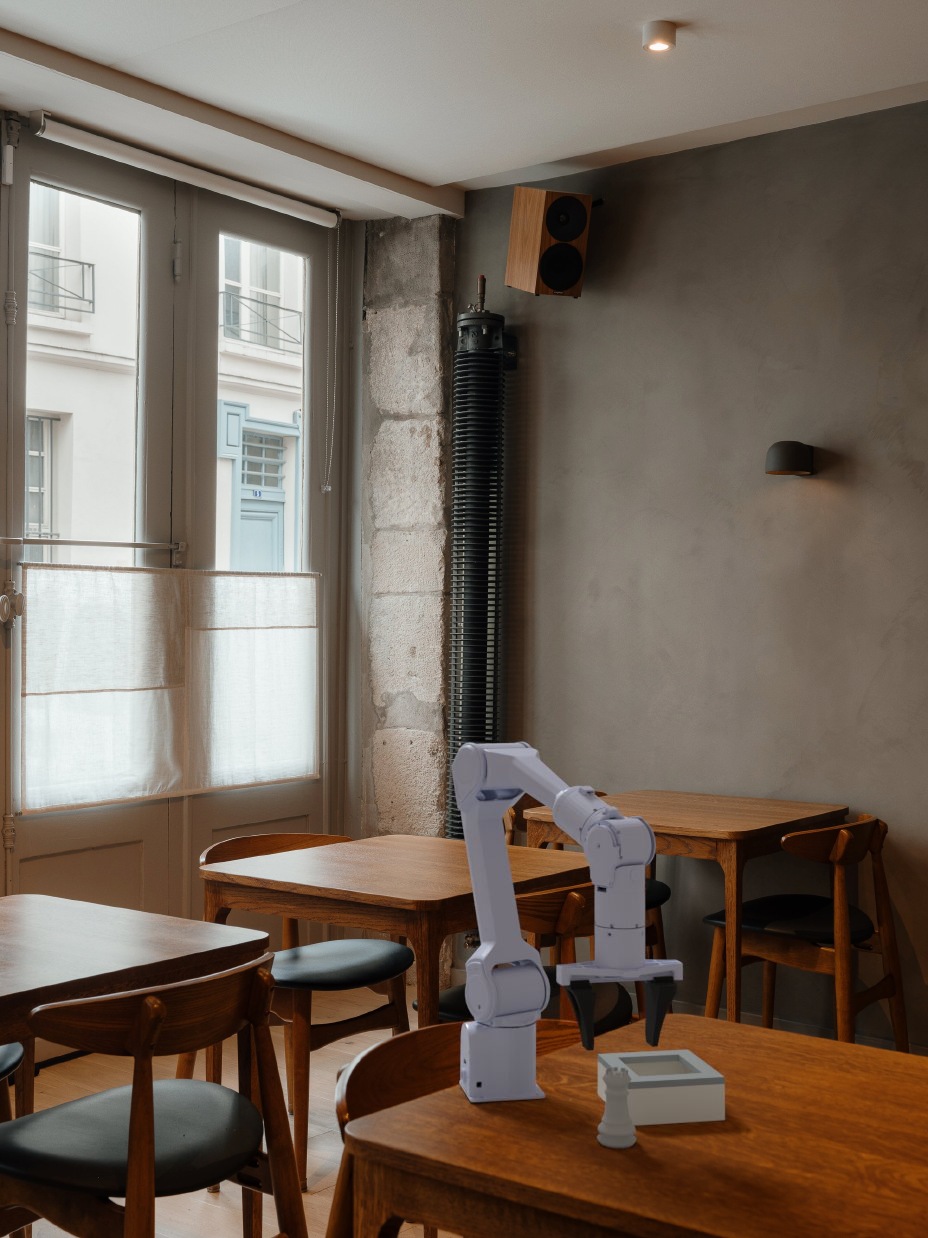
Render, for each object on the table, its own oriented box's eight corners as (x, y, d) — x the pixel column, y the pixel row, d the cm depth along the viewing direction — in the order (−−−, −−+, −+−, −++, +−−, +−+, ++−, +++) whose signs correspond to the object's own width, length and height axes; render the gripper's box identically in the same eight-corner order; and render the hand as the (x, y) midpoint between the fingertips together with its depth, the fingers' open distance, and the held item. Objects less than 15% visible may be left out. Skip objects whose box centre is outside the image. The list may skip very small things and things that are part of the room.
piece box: (628, 1126, 148) (628, 1082, 148) (597, 1094, 160) (597, 1054, 160) (724, 1120, 150) (724, 1077, 150) (687, 1089, 162) (687, 1049, 162)
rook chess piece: (635, 1151, 140) (635, 1077, 140) (594, 1148, 141) (595, 1074, 141) (638, 1137, 144) (638, 1065, 145) (598, 1134, 145) (598, 1063, 145)
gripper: (569, 933, 139) (569, 1059, 138) (693, 928, 142) (693, 1052, 141) (551, 922, 146) (550, 1042, 145) (669, 918, 149) (669, 1036, 148)
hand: (620, 1046), depth 144 cm, fingers open, 7 cm apart
